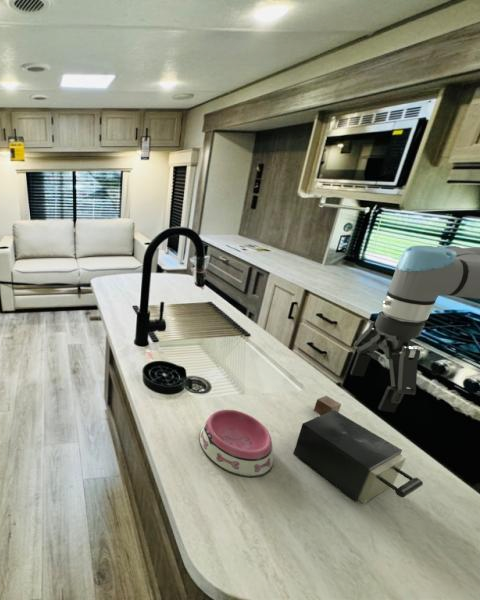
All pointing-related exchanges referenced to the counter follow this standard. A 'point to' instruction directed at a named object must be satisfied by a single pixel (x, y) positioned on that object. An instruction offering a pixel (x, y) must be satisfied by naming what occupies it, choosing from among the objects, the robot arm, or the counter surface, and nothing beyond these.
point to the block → (326, 405)
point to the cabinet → (342, 451)
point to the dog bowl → (237, 443)
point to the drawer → (388, 480)
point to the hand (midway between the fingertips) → (370, 391)
